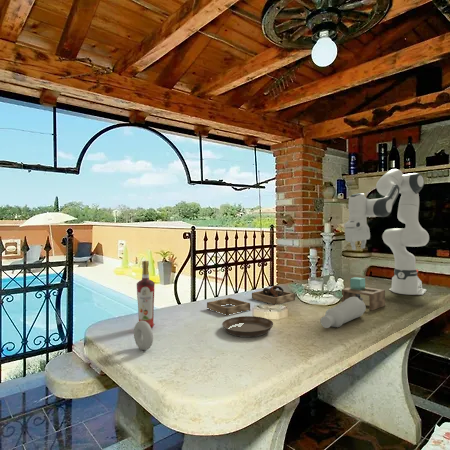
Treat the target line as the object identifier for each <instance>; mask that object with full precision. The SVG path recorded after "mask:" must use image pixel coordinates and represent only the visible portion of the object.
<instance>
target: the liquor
mask: <svg viewBox="0 0 450 450" xmlns="http://www.w3.org/2000/svg"><path fill="white" fill-rule="evenodd" d="M149 266H150V265H149V260H143V261H141V267H142V273H141V280H139V281H138V282H137V283H136V295H137V296H136V297H137V298H136V299H137V310H138V311H137V313H138V322H139V321H146V322H147V323H148V324H149V325H150V327H151V329H152V328H153V327H154V326H155V323H154V313H155V312H154V311H155V310H154V307H155V306H154V305H155V303H154V302H155V281H154V280H152V279H150V274H149Z"/></svg>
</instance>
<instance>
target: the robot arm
mask: <svg viewBox="0 0 450 450" xmlns="http://www.w3.org/2000/svg"><path fill="white" fill-rule="evenodd" d="M424 186H425V179H424V177H423V176H422V174H421V173H418V172H417V173H416V172H413V173H405V174H404V173H403V172H402V171H401V170H400V169H397V168H392V169H390V170H388V171H387V172H385V173H384V174H383V175H382V176H381V177H380V178H379V179H378V180H377V182H376V187H375V188H376V190H377V192H378V193H379V195H381V196H383V197H380V198H371V199H369V198H368V197H366V195H365V193H363V192H360V193H359V192H358V193H353V194H351V195H349V198H348V207H347V208H348V213H349V214H348V220H347V221H346V222H345V223H343V224H344V225H343V226H344V239H345V242H346V243H347V242H348V243H350V246H351V250H352V251H356V250H357V246H356V242H359V241H360V242H361V245H360V249H365V248H366V244H367V240H371V232H370V231H371V230H370V227H369V225H368V221H367V218H370V217H371V218H374V217H378V218H386V217H388V216H390V214H391V213H392V211H393V206H394V204H395V203H396V200H397V198H398V196H399V194H400V195H401V196H400V198H399V202H398V205H397V206H398V207H397V214H396V215H397V219H398V221H399V222H401V223H402V224H405V227H404V228H403V227H402V228H398V227H396V228H395V227H394V228H387V229H385V230H384V232H383V233H382V235H381V238H382V240H383V243H384V244H385V245H386V246H387V247H389V248H390V250H391V252H392V253H393V258H394V269H393V270H394V271H393V274H394V275H393V276H392V277H391V287H390V288H389V290H388V291H390V292H393V293H395V294H400V295H407V296H408V295H409V296H410V295H413V296H414V295H418V296H419V295H421V296H423V295H424V294H425V293H426V292H427V289H426V288H423V284H422V283H423V281H422V280H421V279H420V278H419V276H418V273H419V269H417V266H416V256H415V255H414V254H413V253H411V252H409V251H408V250H407V247H412V248H413V247H414V248H415V247H417V248H418V247H424V246H426V245H427V244H428V243H429V241H430V235H429V233H428V231H427V230H426V229H425V228H423V227H422V225H421V224H420V222H419V212H420V196H419V195H420V194H419V193H420V192H421V190H422V189H423V187H424Z"/></svg>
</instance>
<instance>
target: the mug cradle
mask: <svg viewBox="0 0 450 450" xmlns="http://www.w3.org/2000/svg"><path fill="white" fill-rule="evenodd" d="M265 292H266V293H267V291H265ZM275 292H276V293H277V294H278V293H281V292H282V291H281V290H279V289H276V290H275ZM283 293H284V295H283V296H280V297H275V296H266V295H265V294H264V293H263V290H259V291H253V292H251V299H252V298H253V299H252V300H255V299H256V301H260V302H263V303H267V304H271V303H272V305H275V304H276V305H280V304H284V303H288V302H291V301H295V300H296V298H295V297H296V294H295V293H293V292H288V291H284V292H283Z"/></svg>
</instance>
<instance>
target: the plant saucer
mask: <svg viewBox="0 0 450 450" xmlns="http://www.w3.org/2000/svg"><path fill="white" fill-rule="evenodd" d="M239 323H244V324H243V325H242V326H241V327H238V326H236V327H232V328H230V329H228V328H229V327H230V326H232V325H235V324H239ZM221 325H222V327H223V329H224V330H225V331H226V332H227V333H228V334H230V335H232V336H235V335H236V337H239V336H242V337H241V338H256V337H260V336H264V335H266V334H267V333H268V332H270V330H271V329H272V327H273V326H274V322H273V321H272V320H271V319H269V318H266V317H261V316H254V315H253V316H249V315H245V316H234V317H230V318H228V319H225V320H223V322H222V324H221Z"/></svg>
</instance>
